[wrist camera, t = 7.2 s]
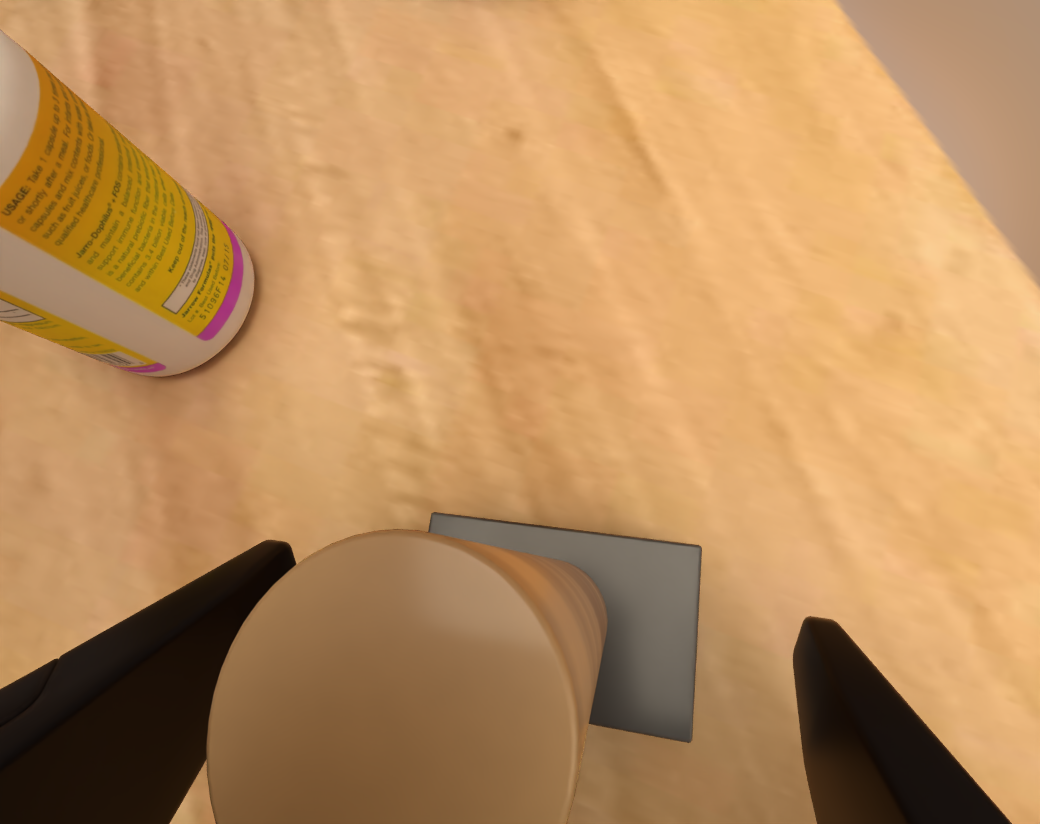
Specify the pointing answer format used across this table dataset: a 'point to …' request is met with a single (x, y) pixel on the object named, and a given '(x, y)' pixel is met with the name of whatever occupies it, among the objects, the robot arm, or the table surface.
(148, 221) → the supplement bottle
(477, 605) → the hammer
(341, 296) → the table surface
